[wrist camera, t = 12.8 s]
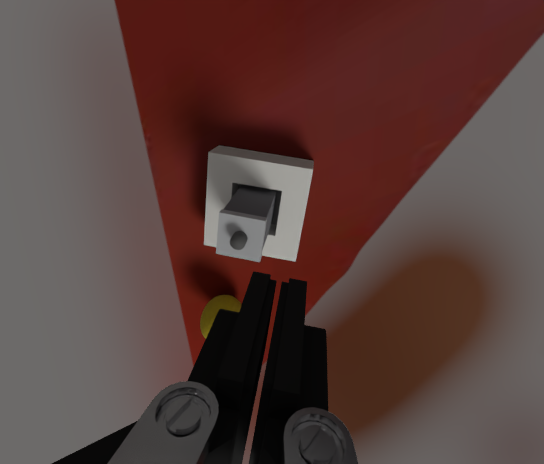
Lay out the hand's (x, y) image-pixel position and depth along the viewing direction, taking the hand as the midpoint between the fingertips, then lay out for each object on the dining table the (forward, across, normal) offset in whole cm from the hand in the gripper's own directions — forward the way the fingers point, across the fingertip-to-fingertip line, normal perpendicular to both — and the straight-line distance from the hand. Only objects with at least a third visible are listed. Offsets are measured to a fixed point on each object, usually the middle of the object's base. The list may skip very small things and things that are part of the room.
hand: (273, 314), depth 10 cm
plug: (+28, +4, +7) cm, 29 cm away
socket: (+29, +4, +7) cm, 30 cm away
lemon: (+29, +7, +23) cm, 38 cm away
